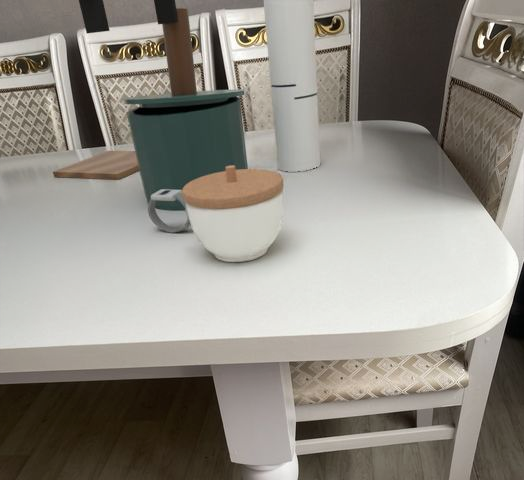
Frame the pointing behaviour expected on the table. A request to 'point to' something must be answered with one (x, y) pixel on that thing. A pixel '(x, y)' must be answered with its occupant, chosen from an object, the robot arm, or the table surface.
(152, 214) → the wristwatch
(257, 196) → the trinket box
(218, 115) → the canister
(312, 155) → the cylindrical container
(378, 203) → the table surface
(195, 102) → the lid
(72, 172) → the board
